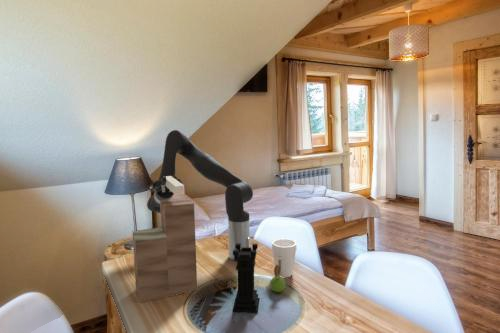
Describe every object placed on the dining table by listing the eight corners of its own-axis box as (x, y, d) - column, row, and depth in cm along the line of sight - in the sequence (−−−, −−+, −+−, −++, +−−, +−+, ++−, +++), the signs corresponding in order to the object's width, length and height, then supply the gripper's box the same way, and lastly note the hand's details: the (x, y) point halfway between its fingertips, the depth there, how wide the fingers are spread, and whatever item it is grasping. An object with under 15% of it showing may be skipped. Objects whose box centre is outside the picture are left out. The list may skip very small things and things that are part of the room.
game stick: (163, 184, 136) (163, 176, 136) (171, 183, 137) (171, 175, 137) (175, 195, 116) (175, 186, 116) (184, 194, 118) (184, 185, 117)
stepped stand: (136, 289, 126) (130, 203, 122) (190, 279, 134) (187, 197, 130) (139, 302, 117) (133, 210, 113) (197, 290, 125) (194, 203, 121)
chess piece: (259, 300, 118) (258, 243, 115) (257, 313, 110) (257, 252, 107) (236, 299, 119) (234, 242, 116) (232, 312, 111) (231, 251, 108)
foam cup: (269, 278, 134) (269, 245, 132) (275, 268, 143) (275, 237, 141) (293, 281, 131) (293, 248, 129) (298, 271, 139) (298, 240, 138)
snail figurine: (287, 287, 126) (287, 256, 125) (283, 296, 120) (283, 263, 119) (273, 285, 128) (273, 254, 126) (268, 293, 122) (268, 261, 120)
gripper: (145, 186, 145) (149, 170, 130) (179, 183, 150) (186, 167, 136) (147, 203, 142) (152, 189, 127) (181, 199, 148) (189, 186, 133)
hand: (170, 178), depth 132 cm, fingers closed on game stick, 3 cm apart
